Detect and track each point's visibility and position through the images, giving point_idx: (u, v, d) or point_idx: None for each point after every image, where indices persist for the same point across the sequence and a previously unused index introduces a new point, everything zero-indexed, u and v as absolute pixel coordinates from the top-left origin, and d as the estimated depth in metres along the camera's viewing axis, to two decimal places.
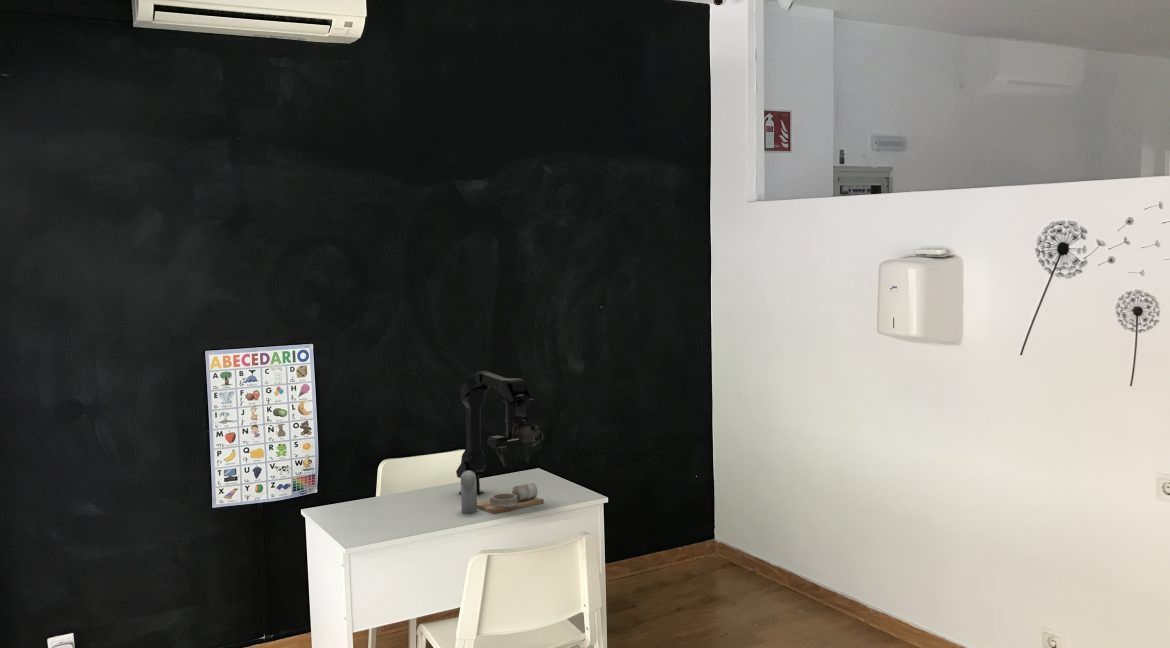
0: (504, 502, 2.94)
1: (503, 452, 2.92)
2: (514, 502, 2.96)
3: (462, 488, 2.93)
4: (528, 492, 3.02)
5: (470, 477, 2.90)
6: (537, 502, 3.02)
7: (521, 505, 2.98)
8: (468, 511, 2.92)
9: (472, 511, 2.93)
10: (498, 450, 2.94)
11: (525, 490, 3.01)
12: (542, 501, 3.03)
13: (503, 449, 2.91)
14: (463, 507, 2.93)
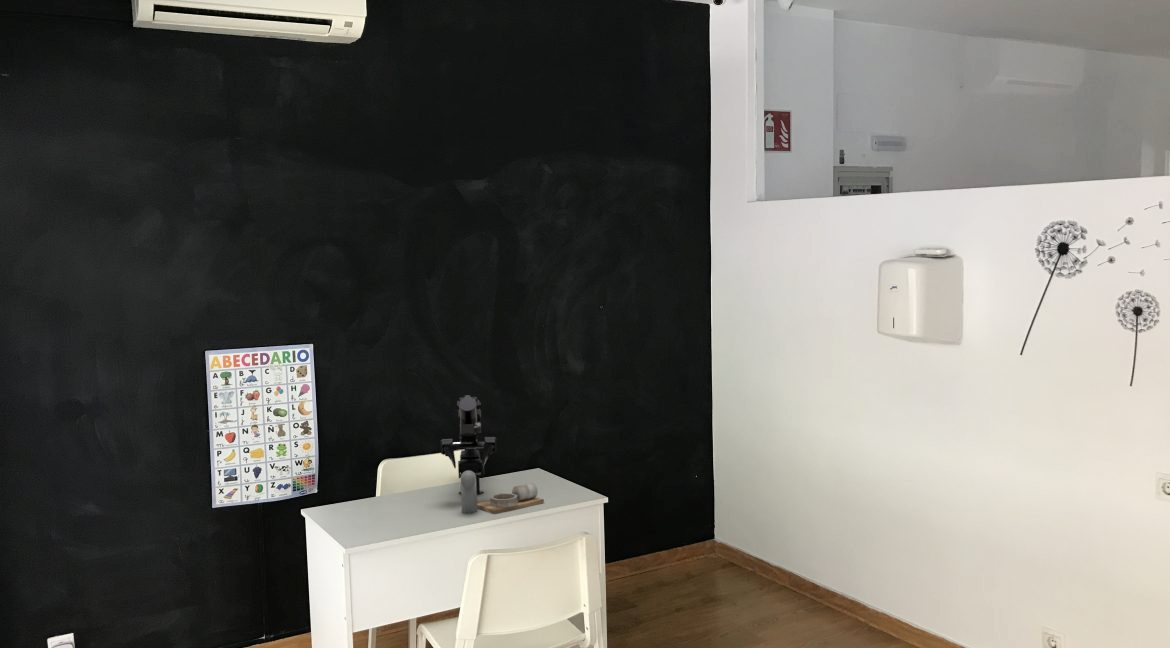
0: (504, 502, 2.94)
1: (450, 452, 3.01)
2: (514, 502, 2.96)
3: (462, 488, 2.93)
4: (528, 492, 3.02)
5: (470, 477, 2.90)
6: (537, 502, 3.02)
7: (521, 505, 2.98)
8: (468, 511, 2.92)
9: (472, 511, 2.93)
10: (450, 456, 3.03)
11: (525, 490, 3.01)
12: (542, 501, 3.03)
13: (448, 448, 3.01)
14: (463, 507, 2.93)
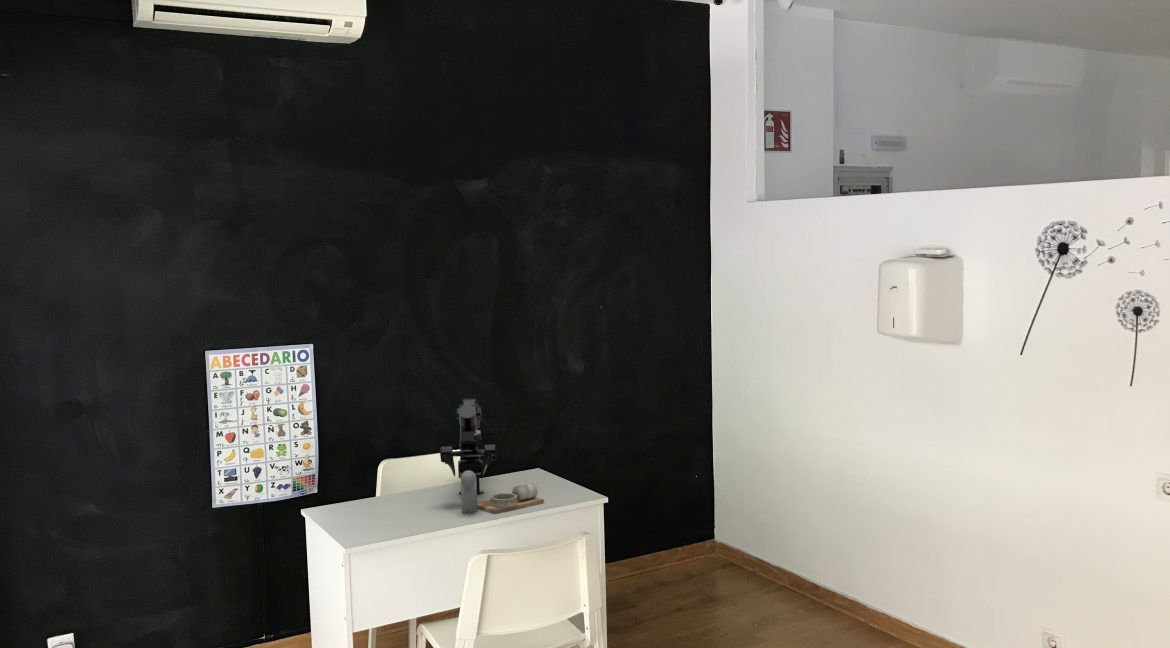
0: (504, 502, 2.94)
1: (450, 460, 2.99)
2: (514, 502, 2.96)
3: (462, 488, 2.93)
4: (528, 492, 3.02)
5: (470, 477, 2.90)
6: (537, 502, 3.02)
7: (521, 505, 2.98)
8: (468, 511, 2.92)
9: (472, 511, 2.93)
10: (450, 464, 3.01)
11: (525, 490, 3.01)
12: (542, 501, 3.03)
13: (448, 455, 2.99)
14: (463, 507, 2.93)
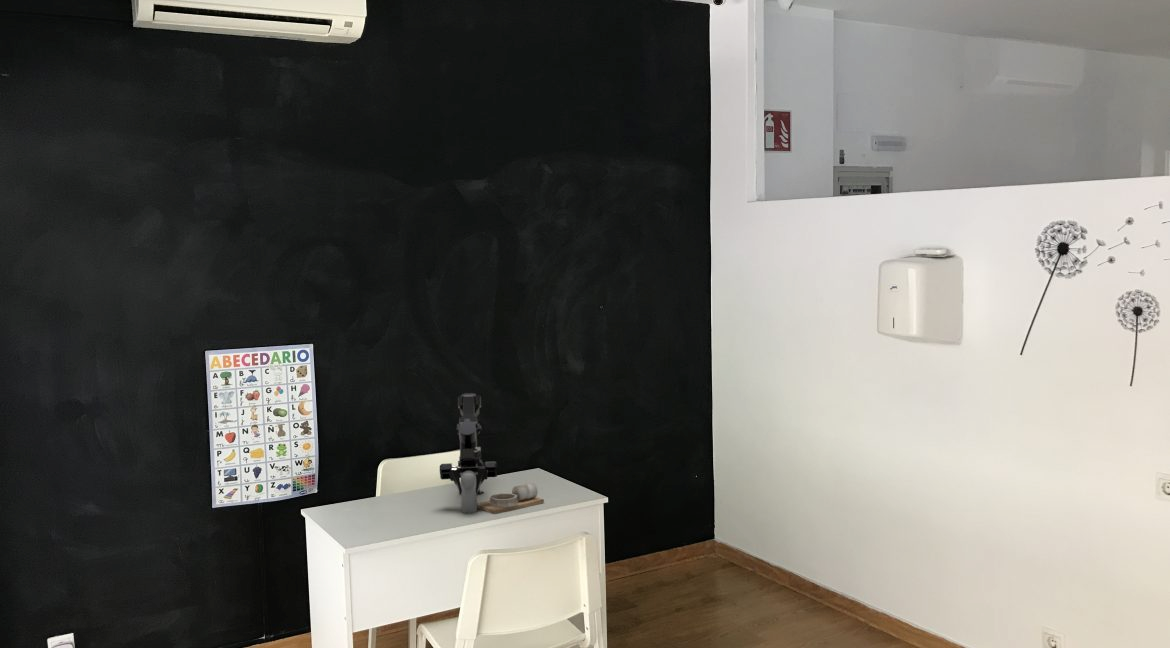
0: (504, 502, 2.94)
1: (456, 477, 2.95)
2: (514, 502, 2.96)
3: (462, 488, 2.93)
4: (528, 492, 3.02)
5: (470, 477, 2.90)
6: (537, 502, 3.02)
7: (521, 505, 2.98)
8: (468, 511, 2.92)
9: (472, 511, 2.93)
10: (456, 480, 2.97)
11: (525, 490, 3.01)
12: (542, 501, 3.03)
13: (454, 472, 2.95)
14: (463, 507, 2.93)
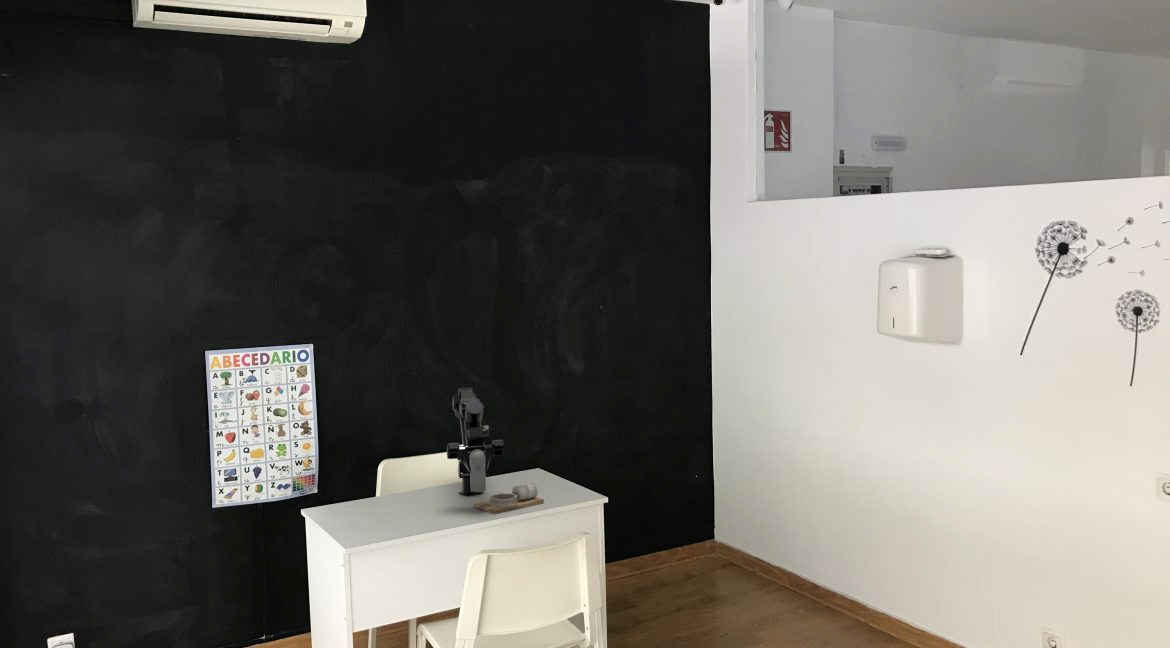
0: (504, 502, 2.94)
1: (464, 456, 2.95)
2: (514, 502, 2.96)
3: (472, 467, 2.93)
4: (528, 492, 3.02)
5: (481, 455, 2.90)
6: (537, 502, 3.02)
7: (521, 505, 2.98)
8: (478, 489, 2.93)
9: (482, 489, 2.93)
10: (463, 460, 2.97)
11: (525, 490, 3.01)
12: (542, 501, 3.03)
13: (462, 451, 2.95)
14: (473, 486, 2.93)
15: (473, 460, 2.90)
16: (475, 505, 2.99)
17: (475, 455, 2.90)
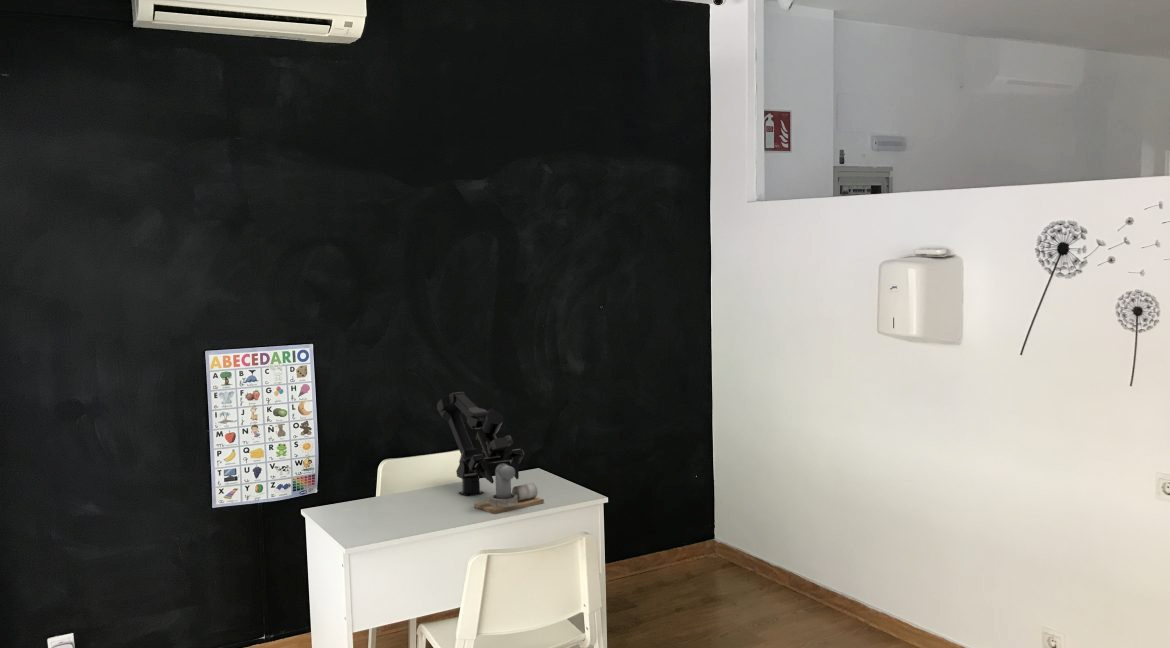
0: (504, 502, 2.94)
1: (485, 468, 2.96)
2: (514, 502, 2.96)
3: (499, 481, 2.96)
4: (528, 492, 3.02)
5: (511, 468, 2.95)
6: (537, 502, 3.02)
7: (521, 505, 2.98)
8: None
9: None
10: (482, 471, 2.98)
11: (525, 490, 3.01)
12: (542, 501, 3.03)
13: (483, 463, 2.95)
14: None
15: (504, 474, 2.94)
16: (475, 505, 2.99)
17: (506, 469, 2.94)
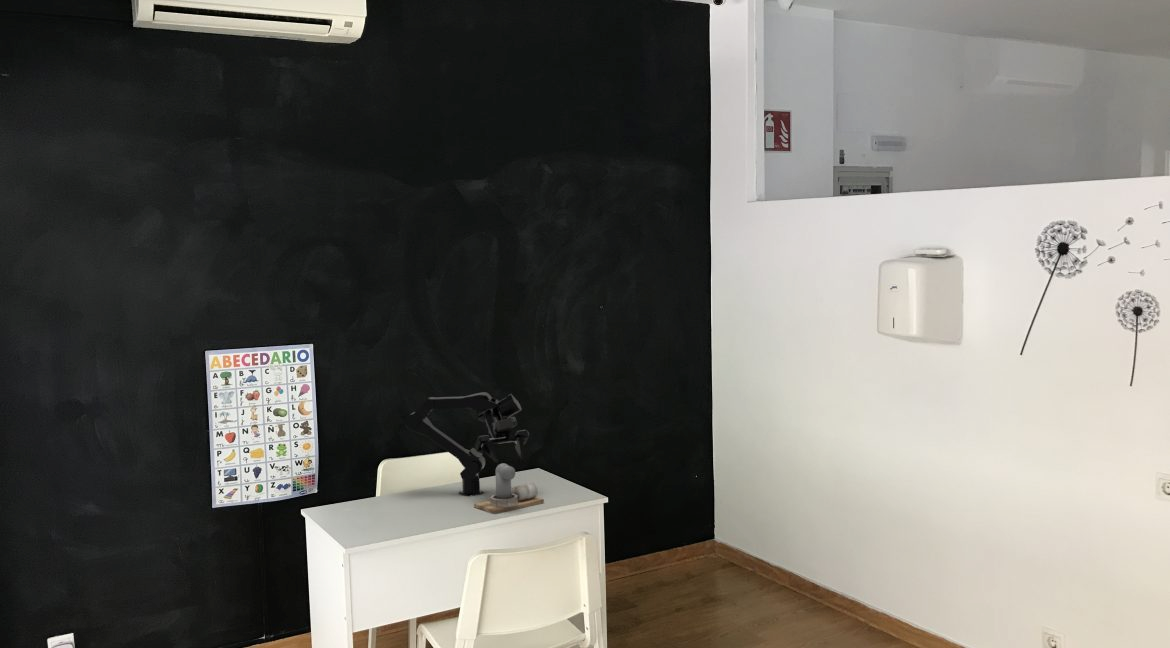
0: (504, 502, 2.94)
1: (490, 448, 3.06)
2: (514, 502, 2.96)
3: (500, 481, 2.96)
4: (528, 492, 3.02)
5: (511, 468, 2.95)
6: (537, 502, 3.02)
7: (521, 505, 2.98)
8: None
9: None
10: (487, 452, 3.08)
11: (525, 490, 3.01)
12: (542, 501, 3.03)
13: (488, 444, 3.06)
14: None
15: (504, 474, 2.94)
16: (475, 505, 2.99)
17: (506, 469, 2.94)
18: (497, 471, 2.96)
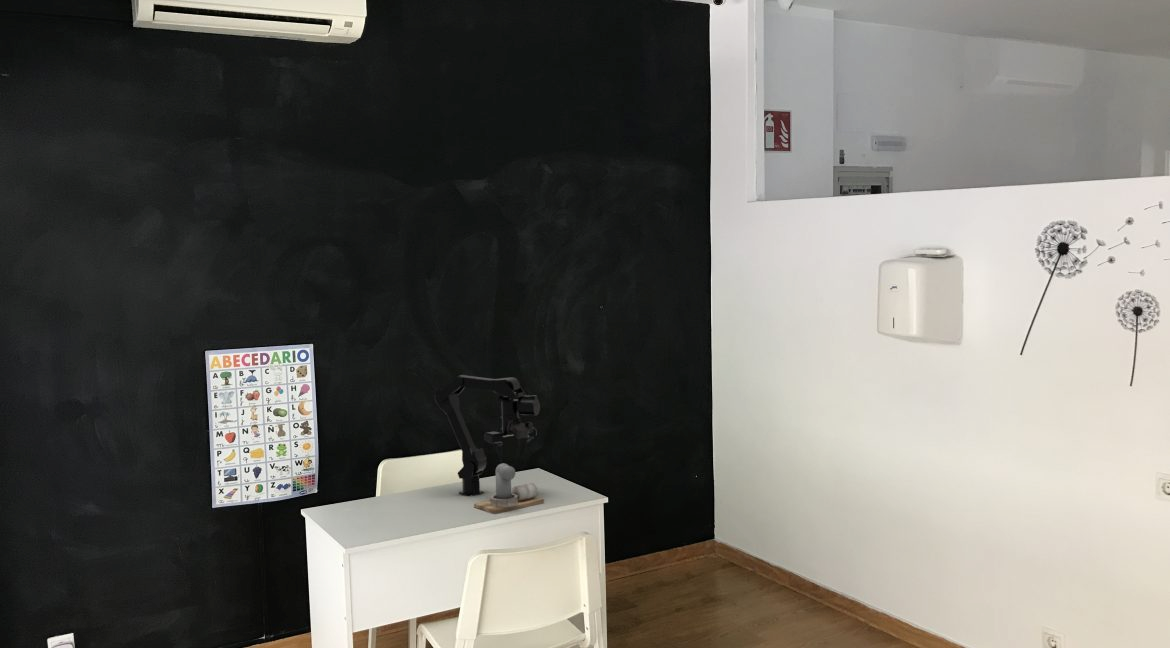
0: (504, 502, 2.94)
1: (499, 447, 3.08)
2: (514, 502, 2.96)
3: (500, 481, 2.96)
4: (528, 492, 3.02)
5: (511, 468, 2.95)
6: (537, 502, 3.02)
7: (521, 505, 2.98)
8: None
9: None
10: (494, 445, 3.10)
11: (525, 490, 3.01)
12: (542, 501, 3.03)
13: (499, 444, 3.07)
14: None
15: (504, 474, 2.94)
16: (475, 505, 2.99)
17: (506, 469, 2.94)
18: (497, 471, 2.96)
